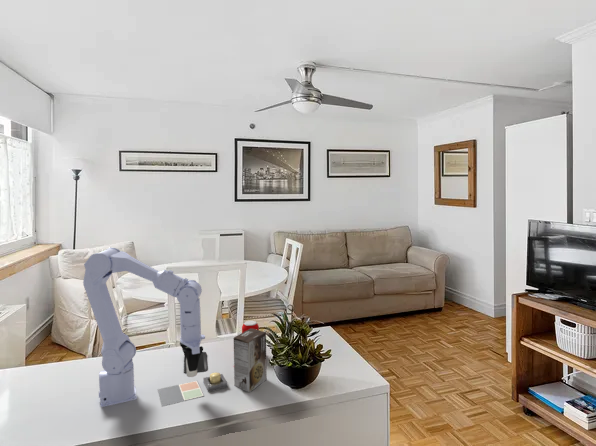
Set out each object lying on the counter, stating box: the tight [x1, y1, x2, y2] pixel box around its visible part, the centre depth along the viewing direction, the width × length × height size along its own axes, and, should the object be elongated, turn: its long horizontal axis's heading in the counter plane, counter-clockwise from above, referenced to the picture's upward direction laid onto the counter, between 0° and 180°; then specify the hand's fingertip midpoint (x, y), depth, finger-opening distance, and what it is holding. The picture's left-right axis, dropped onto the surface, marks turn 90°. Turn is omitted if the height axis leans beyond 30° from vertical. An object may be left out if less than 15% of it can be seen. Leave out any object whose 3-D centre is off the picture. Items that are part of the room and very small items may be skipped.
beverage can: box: [241, 320, 260, 333], centre depth 143 cm, size 6×6×12 cm
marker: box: [186, 347, 198, 378], centre depth 114 cm, size 3×3×8 cm
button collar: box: [203, 373, 228, 393], centre depth 120 cm, size 6×6×2 cm
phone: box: [183, 351, 209, 375], centre depth 135 cm, size 8×1×15 cm
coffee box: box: [233, 328, 267, 393], centre depth 122 cm, size 9×6×16 cm
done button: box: [209, 372, 221, 385], centre depth 120 cm, size 3×3×2 cm
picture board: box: [157, 380, 205, 407], centre depth 116 cm, size 12×10×1 cm
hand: (191, 367), depth 114 cm, fingers closed on marker, 3 cm apart
